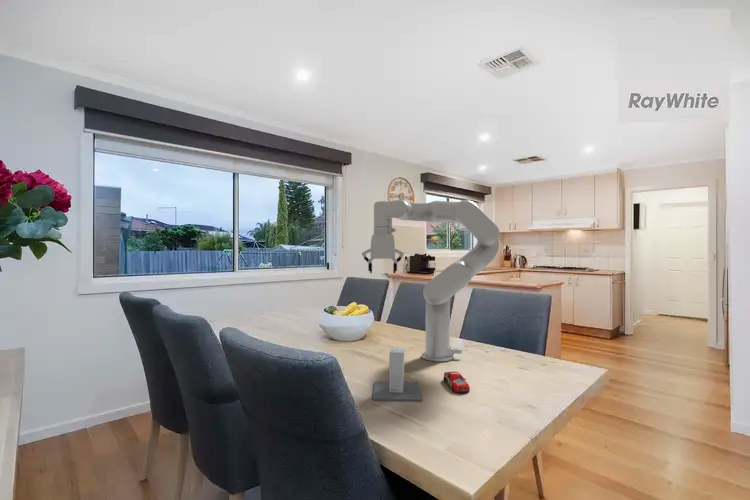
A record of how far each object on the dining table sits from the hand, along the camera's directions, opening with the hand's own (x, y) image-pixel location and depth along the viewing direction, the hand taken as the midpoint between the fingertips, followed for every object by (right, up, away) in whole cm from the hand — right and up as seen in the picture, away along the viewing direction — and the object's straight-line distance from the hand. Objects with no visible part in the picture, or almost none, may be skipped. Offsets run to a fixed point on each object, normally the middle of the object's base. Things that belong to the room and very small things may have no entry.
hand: (382, 273), depth 158 cm
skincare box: (+4, -33, -42) cm, 53 cm away
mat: (+3, -34, -42) cm, 54 cm away
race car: (+22, -34, -37) cm, 55 cm away
